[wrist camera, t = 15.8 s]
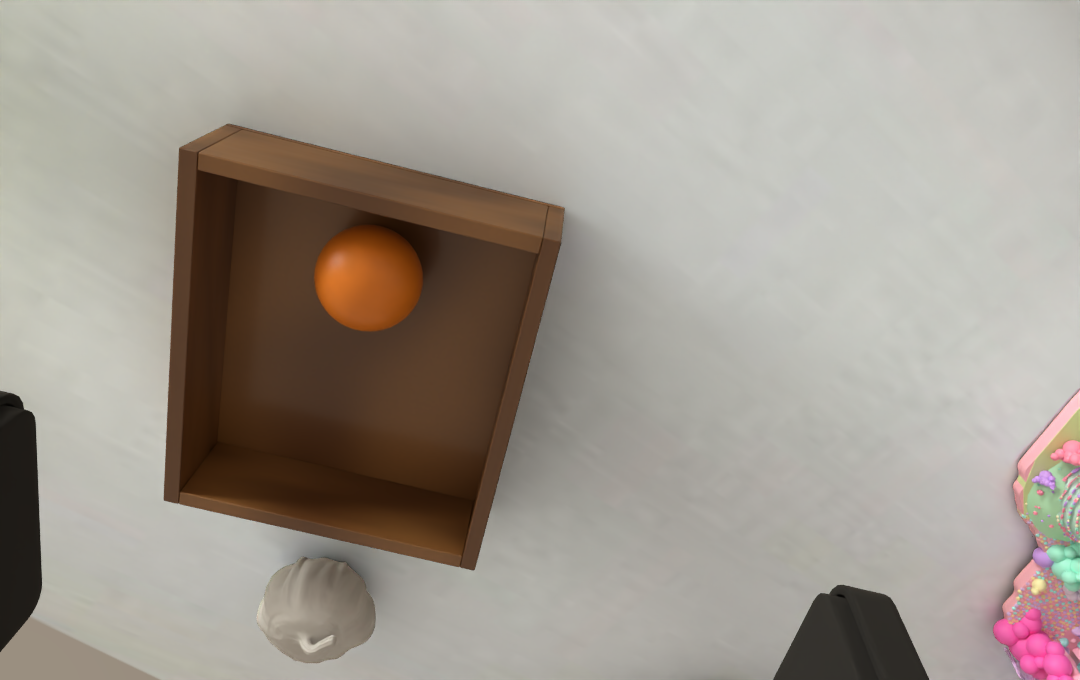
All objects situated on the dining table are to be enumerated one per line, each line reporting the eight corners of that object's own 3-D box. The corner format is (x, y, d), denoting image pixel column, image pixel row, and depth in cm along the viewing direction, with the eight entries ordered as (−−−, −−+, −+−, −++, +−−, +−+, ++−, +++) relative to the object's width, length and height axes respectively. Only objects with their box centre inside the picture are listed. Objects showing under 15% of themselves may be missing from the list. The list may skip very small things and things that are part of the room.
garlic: (386, 546, 43) (361, 619, 39) (383, 622, 46) (359, 700, 41) (273, 531, 43) (234, 602, 39) (276, 608, 46) (239, 684, 41)
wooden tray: (565, 207, 35) (561, 242, 31) (485, 510, 42) (474, 571, 38) (227, 123, 34) (178, 147, 30) (205, 446, 41) (163, 500, 37)
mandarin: (439, 225, 35) (420, 261, 31) (422, 316, 37) (401, 360, 33) (338, 200, 35) (306, 232, 31) (326, 293, 37) (293, 334, 33)
